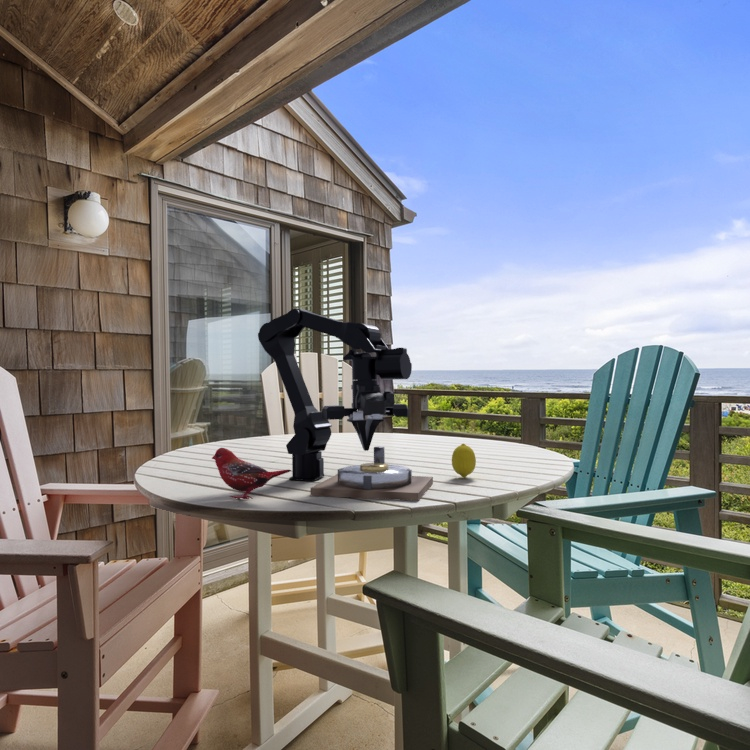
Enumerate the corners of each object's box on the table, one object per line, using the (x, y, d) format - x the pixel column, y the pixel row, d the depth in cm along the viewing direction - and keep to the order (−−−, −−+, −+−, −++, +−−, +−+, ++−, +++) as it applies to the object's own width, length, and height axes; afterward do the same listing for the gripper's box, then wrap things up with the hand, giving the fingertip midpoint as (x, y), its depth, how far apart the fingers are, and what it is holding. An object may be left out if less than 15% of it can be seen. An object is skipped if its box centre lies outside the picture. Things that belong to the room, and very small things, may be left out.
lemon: (474, 475, 121) (474, 442, 121) (477, 480, 116) (476, 445, 116) (451, 475, 122) (450, 442, 122) (452, 480, 116) (452, 445, 116)
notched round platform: (407, 490, 98) (406, 456, 98) (328, 488, 101) (328, 455, 101) (415, 475, 114) (414, 446, 114) (347, 474, 116) (346, 445, 116)
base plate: (310, 495, 102) (310, 488, 102) (339, 479, 118) (338, 473, 118) (418, 500, 96) (418, 493, 96) (432, 483, 112) (432, 476, 113)
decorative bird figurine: (216, 495, 103) (215, 446, 103) (295, 501, 97) (294, 448, 98) (207, 499, 100) (206, 448, 100) (288, 504, 95) (287, 450, 95)
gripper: (332, 380, 103) (333, 457, 102) (417, 379, 108) (419, 452, 108) (320, 380, 113) (321, 451, 113) (399, 379, 119) (400, 446, 119)
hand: (366, 450), depth 113 cm, fingers closed
